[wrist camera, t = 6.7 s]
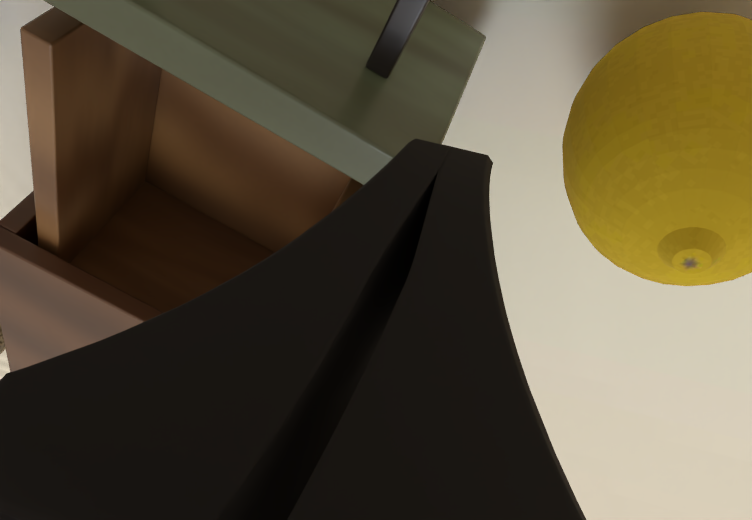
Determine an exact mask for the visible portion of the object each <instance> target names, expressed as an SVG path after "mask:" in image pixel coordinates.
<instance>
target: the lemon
mask: <svg viewBox="0 0 752 520" xmlns="http://www.w3.org/2000/svg"><path fill="white" fill-rule="evenodd" d="M563 173H564V183H565V188H566V192H567V196H568V199H569V201H570V204H571V207H572V209H573V212H574V215H575V218H576V220H577V223H578V225H579V226H580V228H581V230H582V232H583V233H584V234H585V235H586V237H587V238H588V239H589V241H590V242H591V243H592V245H593V246H594V247H595V248H596V249H597V250H598V251H599V252H600V253H601V254H602V255H603V256H605V257H606V258H607V259H609V260H610V261H611V262H612V263H614V264H615V265H616V266H618V267H620V268H622V269H624V270H626V271H628V272H630V273H632V274H634V275H637V276H639V277H641V278H643V279H647V280H651V281H654V282H658V283H662V284H670V285H681V286H695V285H710V284H715V283H720V282H724V281H729V280H733V279H736V278H738V277H741V276H744V275H746V274H749V273H751V272H752V20H751V19H748V18H745V17H742V16H739V15H736V14H727V13H713V12H697V13H690V14H684V15H678V16H672V17H669V18H666V19H664V20H661V21H658V22H656V23H653V24H650V25H648V26H645V27H643V28H641V29H640V30H638V31H637V32H635V33H633V34H632V35H630V36H629V37H627V38H626V39H624V40H622V41H621V42H619V43H618V44H616V45H615V46H614V47H613V48H612V49H611V50H610V51H609V52H608V53H607V54H606V55H605V56H604V57H603V58H602V59H601V60H600V61H599V62H598V63H597V64H596V65H595V67H594V68H593V69H592V70H591V72H590V74H589V75H588V77H587V79H586V80H585V82H584V83H583V85H582V87H581V88H580V90H579V92H578V93H577V95H576V97H575V99H574V101H573V104H572V107H571V111H570V114H569V118H568V121H567V125H566V128H565V132H564V137H563Z"/></svg>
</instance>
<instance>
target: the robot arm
mask: <svg viewBox="0 0 752 520" xmlns="http://www.w3.org/2000/svg"><path fill="white" fill-rule="evenodd" d="M492 165H493V162H492V161H491V159H490V158H489V156H488V155H484V154H480V153H476V152H471V151H467V150H463V149H459V148H454V147H450V146H446V145H442V144H438V143H433V142H429V141H425V140H421V139H416V138H415V139H414V140H412V141H410V142H408V143H407V145H406V146H405V147H404V148H403V149H402V150H401V151H400V152H399V153H398V154H397V155H396V156H395V157H394V158H393V159H392V160H391V161H390V162H389V163H387V164H386V165H385V166H384V167H383V168H382V169H381V170H380V171H379V172H378V173H377V174H376V175H375V176H373V177H372V178H371V179H370V180H369V181H368V182H367V183H366V184H364V185H363V186H362V187H361V188H360V189H359V190H357V191H356V192H355V193H354V194H353V195H351V196H350V197H349V198H348V199H347V200H346V201H344V202H343V203H342V204H341V205H340V206H338V207H337V208H336V209H335V210H333V211H332V212H331V213H329V214H328V215H327V216H325V217H324V218H323V219H321V220H320V221H319V222H317V223H316V224H315V225H313V226H312V227H311V228H309V229H308V230H307V231H305V232H304V233H303V234H301V235H300V236H299V237H297V238H296V239H294V240H293V241H291V242H290V243H288V244H287V245H286V246H284V247H283V248H281V249H280V250H278V251H276V252H275V253H273V254H272V255H270V256H269V257H267V258H265V259H264V260H262V261H261V262H259V263H257V264H256V265H254V266H253V267H251V268H249V269H248V270H246V271H244V272H242V273H241V274H239V275H237V276H235V277H233V278H232V279H230V280H228V281H226V282H224V283H223V284H221V285H219V286H217V287H215V288H213V289H212V290H210V291H208V292H206V293H204V294H202V295H200V296H198V297H196V298H194V299H192V300H190V301H188V302H186V303H184V304H182V305H180V306H178V307H176V308H174V309H171V310H169V311H167V312H165V313H162V314H160V315H158V316H156V317H154V318H151V319H149V320H147V321H145V322H142V323H140V324H138V325H136V326H133V327H131V328H129V329H127V330H125V331H122V332H120V333H117V334H115V335H113V336H110V337H108V338H105V339H103V340H100V341H98V342H95V343H92V344H90V345H87V346H84V347H81V348H78V349H76V350H73V351H70V352H67V353H64V354H62V355H59V356H56V357H53V358H51V359H48V360H45V361H42V362H39V363H37V364H34V365H31V366H28V367H25V368H22V369H19V370H16V371H13V372H10V373H7V374H6V375H5V376H4V377H3V378H2V379H1V380H0V520H586V518H585V516H584V514H583V512H582V510H581V508H580V506H579V504H578V502H577V500H576V498H575V496H574V493H573V491H572V489H571V487H570V485H569V482H568V480H567V478H566V476H565V474H564V471H563V469H562V467H561V465H560V463H559V460H558V458H557V456H556V454H555V452H554V449H553V446H552V444H551V441H550V439H549V436H548V434H547V431H546V429H545V426H544V424H543V421H542V419H541V416H540V414H539V411H538V409H537V406H536V404H535V401H534V399H533V396H532V394H531V391H530V389H529V386H528V383H527V380H526V377H525V374H524V371H523V368H522V365H521V362H520V359H519V356H518V353H517V350H516V346H515V343H514V339H513V336H512V332H511V329H510V325H509V322H508V318H507V314H506V310H505V306H504V302H503V297H502V293H501V288H500V283H499V278H498V273H497V267H496V262H495V256H494V248H493V240H492V232H491V223H490V207H489V184H490V174H491V169H492Z"/></svg>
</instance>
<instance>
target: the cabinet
mask: <svg viewBox="0 0 752 520" xmlns="http://www.w3.org/2000/svg"><path fill="white" fill-rule="evenodd" d="M162 313H164V312H162V311H160V310H158V309H156V308H155V307H153V306H151V305H149V304H147V303H145V302H143V301H141V300H139V299H137V298H136V297H134V296H132V295H130V294H128V293H126V292H124V291H122V290H120V289H118V288H116V287H115V286H113V285H111V284H109V283H107V282H105V281H103V280H101V279H99V278H97V277H96V276H94V275H92V274H90V273H88V272H86V271H84V270H82V269H80V268H78V267H77V266H75V265H73V264H71V263H69V262H67V261H65V260H63V259H61V258H59V257H58V256H56V255H54V254H52V253H50V252H48V251H46V250H44V249H42V248H40V247H39V246H38V235H37V223H36V211H35V199H34V191H33V192H31V193H30V194H29V195H28V196H27V197H26V198H25V199H24V200H23V201H21V202H20V203H19V204H18V205H17V206H16V207H15V208H14V209H13V210H11V211H10V212H9V213H8V214H7V215H6V216H5V217H4V218H2V219H1V220H0V325H1V329H2V334H3V339H4V343H5V348H6V353H7V358H8V362H9V367H10V372H13V371H16V370H19V369H22V368H25V367H28V366H31V365H34V364H37V363H39V362H42V361H45V360H48V359H51V358H53V357H56V356H59V355H62V354H64V353H67V352H70V351H73V350H76V349H78V348H81V347H84V346H87V345H90V344H92V343H95V342H98V341H100V340H103V339H105V338H108V337H110V336H113V335H115V334H117V333H120V332H122V331H125V330H127V329H129V328H131V327H133V326H136V325H138V324H140V323H142V322H145V321H147V320H149V319H151V318H154V317H156V316H158V315H160V314H162Z"/></svg>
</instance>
